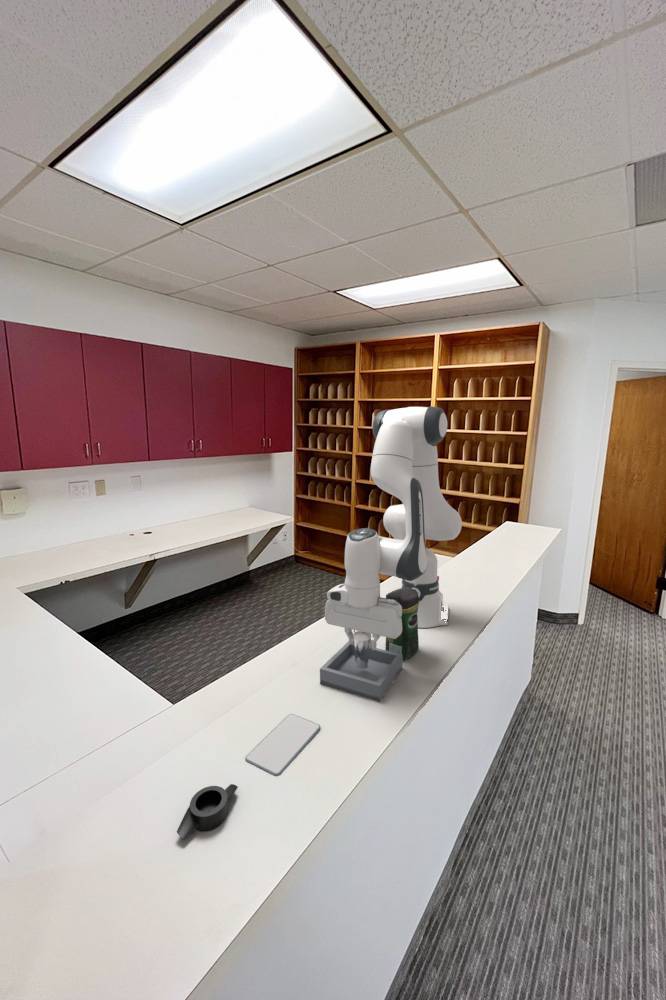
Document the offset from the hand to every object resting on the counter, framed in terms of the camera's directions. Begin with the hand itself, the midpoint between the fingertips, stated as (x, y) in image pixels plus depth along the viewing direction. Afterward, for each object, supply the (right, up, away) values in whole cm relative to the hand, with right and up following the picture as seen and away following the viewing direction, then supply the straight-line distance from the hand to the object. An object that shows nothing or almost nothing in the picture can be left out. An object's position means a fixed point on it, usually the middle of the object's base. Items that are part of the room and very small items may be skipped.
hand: (362, 646), depth 105 cm
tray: (0, -8, +1) cm, 8 cm away
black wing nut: (-28, -14, -38) cm, 49 cm away
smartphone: (-17, -12, -22) cm, 30 cm away
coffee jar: (+12, -7, +13) cm, 19 cm away
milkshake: (0, -5, +1) cm, 5 cm away
